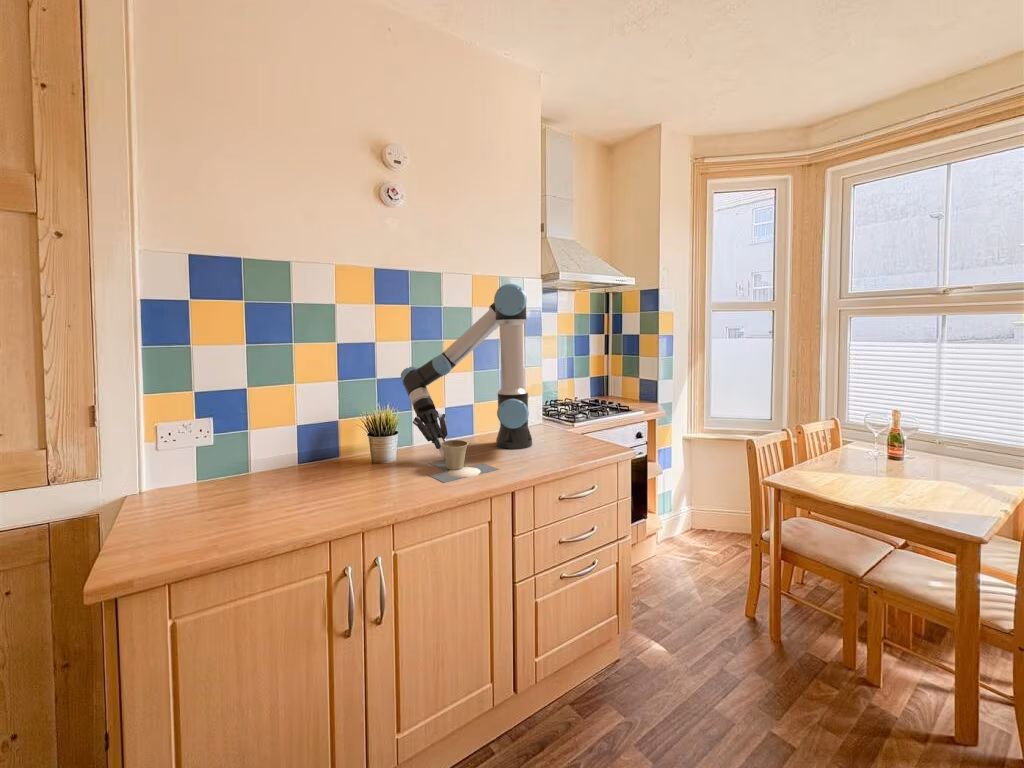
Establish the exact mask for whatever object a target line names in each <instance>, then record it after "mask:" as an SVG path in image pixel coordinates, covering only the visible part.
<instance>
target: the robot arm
mask: <svg viewBox="0 0 1024 768" xmlns="http://www.w3.org/2000/svg"><path fill="white" fill-rule="evenodd" d="M525 322H527V293H526V291H525V290H524V289H523V288H522V286H520V285H518V284H516V283H506V284H502V286H500V287H499V288H497V290H496V292H495V293H494V297H493V302H492V303H491V305H489V307H488V310H487V311H486V312H485V313H484V314H483V315H482V316H481V317H480V318H479V319H477V321H475V323H473V324H472V325H471V326H470V327H469V328H468V329H467V330H466V331H464V332H463V333H462V334H461V335H460V336H459V337H458V338H457V339H456V340H454V342H453V343H451V344H450V345H449V346H448V347H447V348H446V349H445V350H444V351H443V352H441V353H440V354H438V355H437V356H435V357H433V358H432V359H430V360H429V361H427V362H426V363H424V364H423V365H421V366H420V367H416V366H409V367H406V368H403V370H402V371H401V372H400V379H401V382H402V385H403V387H404V389H405V391H406V394H407V396H408V398H409V400H410V402H411V406H412V407H413V410H414V413H415V415H416V416H415V417H414V418H413V421H412V423H413V425H415V426H416V427H417V428H418V430H419V432H421V434H422V436H424V438H425V440H426V441H427V442H431V443H432V444H434V446H435V449H436V450H438V451H439V453H440V455H441V457H442V458H444V451H443V449H442V445H441V443H442V442H444V441H446V440H445V439H447V436H448V430H447V429H448V428H447V424H446V420H445V419H446V414H445V413H443V414H441V413H439V411H438V410H437V408H436V405H435V403H434V401H433V399H432V396H431V394H430V392H429V390H428V388H427V386H430V385H431V384H432V383H434V382H435V381H437V380H438V379H440V378H442V377H444V376H447V375H448V374H449V373H450V372H451V371H452V369H454V368H455V367H456V366H457V365H459V363H460V362H461V361H462V360H464V359H465V357H467V356H468V355H469V354H470V353H471V352H472V351H474V350H475V349H476V348H477V347H478V346H479V345H480V344H481V343H482V342H483V341H485V340H486V339H487V338H488V337H489V336H490V335H491V334H492V333H493V332H494V331H496V330H497V329H498V328H499V334H500V335H499V338H500V339H499V342H500V346H499V347H500V377H501V378H500V380H501V381H500V383H501V384H500V385H501V387H500V389H499V390H498V391H497V411H496V416H497V418H498V419H497V420H498V421H499V423H500V424H499V425H500V426H499V429H498V431H497V432H498V433H497V437H496V440H495V443H496V446H497V447H498V448H503V449H508V450H509V449H510V450H514V449H515V450H517V449H526V448H529V447H531V446H532V445H533V437H532V435H531V432H530V428H529V414H530V412H529V392H528V390H527V389H525V385H524V384H525V383H524V382H525V381H524V336H523V335H524V330H523V328H524V327H523V325H524V324H525ZM438 421H439V422H438Z"/></svg>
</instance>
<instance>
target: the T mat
mask: <svg viewBox="0 0 1024 768" xmlns="http://www.w3.org/2000/svg"><path fill="white" fill-rule="evenodd" d="M429 465H431V466H433V467H436V468H438V469H441V470H442V471H439V472H435V473H430V474H427V475H428V476H429V477H431V478H432V479H434V480H437V481H438V480H439V482H440V481H441V482H440V483H443V484H446V483H450V482H453V481H454V482H455V481H457V480H463V479H465V478H473V477H476V476H480V475H482V474H487V473H491V472H495V471H499V470H500V468H497V467H495V466H491V465H489V464H487V463H484V462H480V463H477V464H470V465H467V466H465V465H464V467H463V468H462V469H456V470H451V469H447V468H446V466H445V459H443V460H439V461H434V462H429ZM462 478H463V479H462Z"/></svg>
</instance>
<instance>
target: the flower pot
mask: <svg viewBox="0 0 1024 768" xmlns="http://www.w3.org/2000/svg"><path fill="white" fill-rule="evenodd" d="M441 445H442V449H443V451H444V457H443V458H444V460H445V466H446V468H447V469H451V470H456V469H462V468H463V467H464V466H465V465H464V464H465V457H466V453H467V452H466V451H467V448H468V445H469V442H468V441H466V440H462V439H450V440H445V441H444V442H442V443H441Z"/></svg>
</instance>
